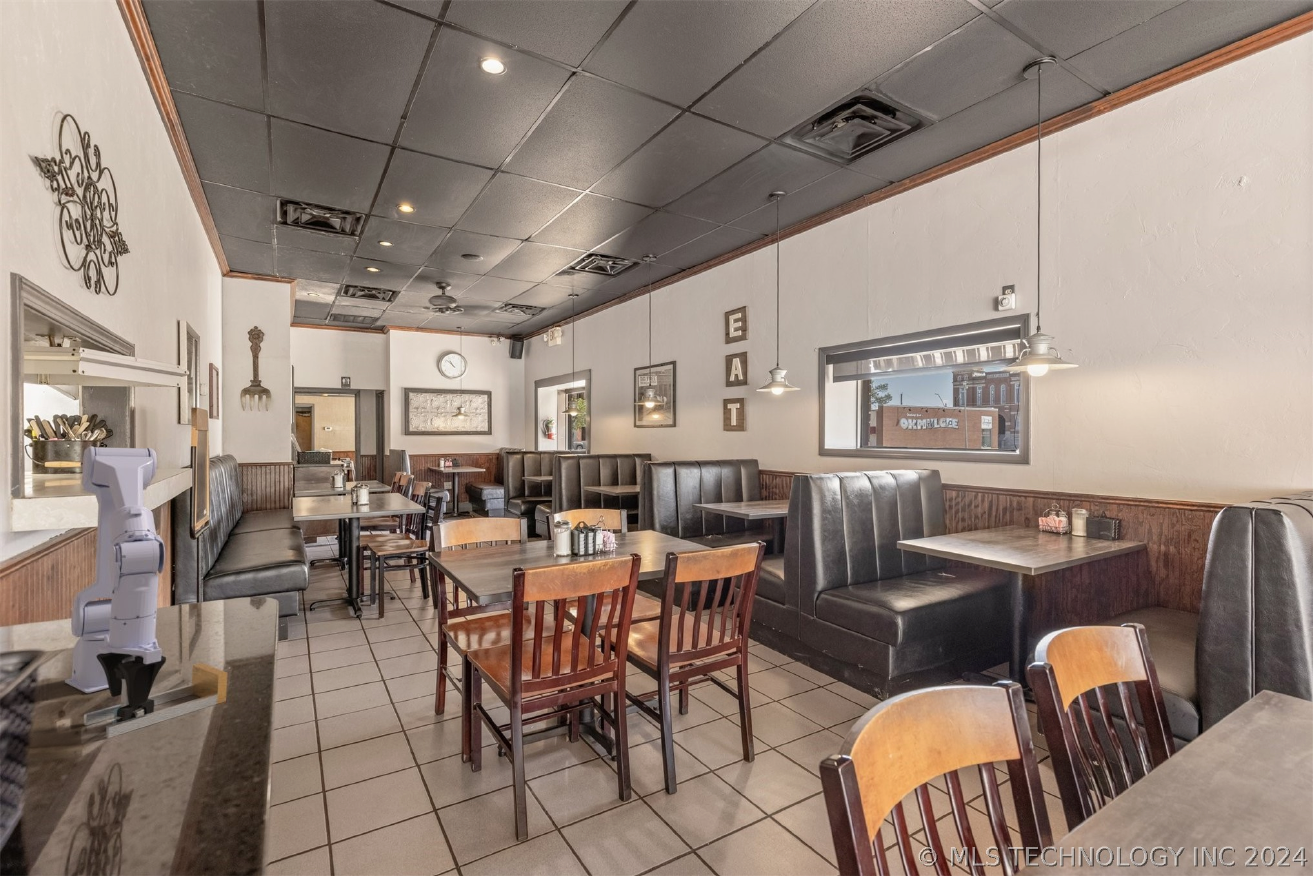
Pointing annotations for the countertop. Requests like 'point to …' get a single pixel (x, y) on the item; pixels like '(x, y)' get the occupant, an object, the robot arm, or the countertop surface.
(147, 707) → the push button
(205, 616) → the countertop surface
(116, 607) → the robot arm
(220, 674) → the rail
